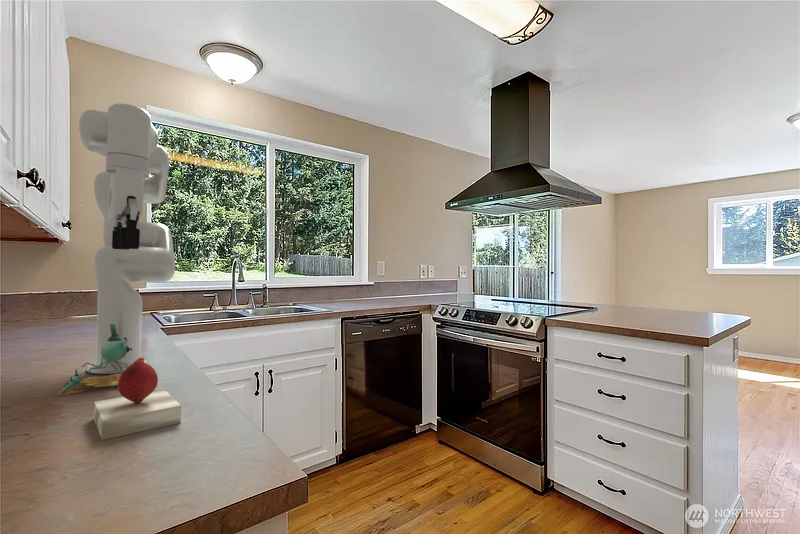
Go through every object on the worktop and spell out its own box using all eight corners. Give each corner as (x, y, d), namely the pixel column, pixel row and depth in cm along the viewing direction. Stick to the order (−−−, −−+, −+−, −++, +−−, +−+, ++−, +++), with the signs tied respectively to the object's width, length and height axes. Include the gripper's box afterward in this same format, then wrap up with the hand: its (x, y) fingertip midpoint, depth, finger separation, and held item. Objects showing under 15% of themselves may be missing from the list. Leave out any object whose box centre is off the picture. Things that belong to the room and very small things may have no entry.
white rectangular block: (93, 418, 69) (94, 401, 69) (164, 405, 77) (165, 389, 77) (102, 440, 61) (102, 420, 61) (180, 422, 69) (181, 405, 69)
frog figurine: (50, 388, 85) (62, 319, 86) (146, 382, 98) (155, 322, 99) (56, 399, 78) (70, 324, 79) (158, 390, 91) (168, 326, 93)
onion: (137, 410, 66) (138, 362, 66) (108, 407, 67) (110, 359, 67) (164, 399, 71) (166, 355, 71) (137, 396, 73) (139, 352, 73)
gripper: (100, 170, 86) (97, 248, 86) (112, 155, 73) (109, 247, 73) (140, 176, 91) (137, 250, 91) (158, 163, 79) (155, 249, 78)
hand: (125, 248), depth 82 cm, fingers open, 9 cm apart
